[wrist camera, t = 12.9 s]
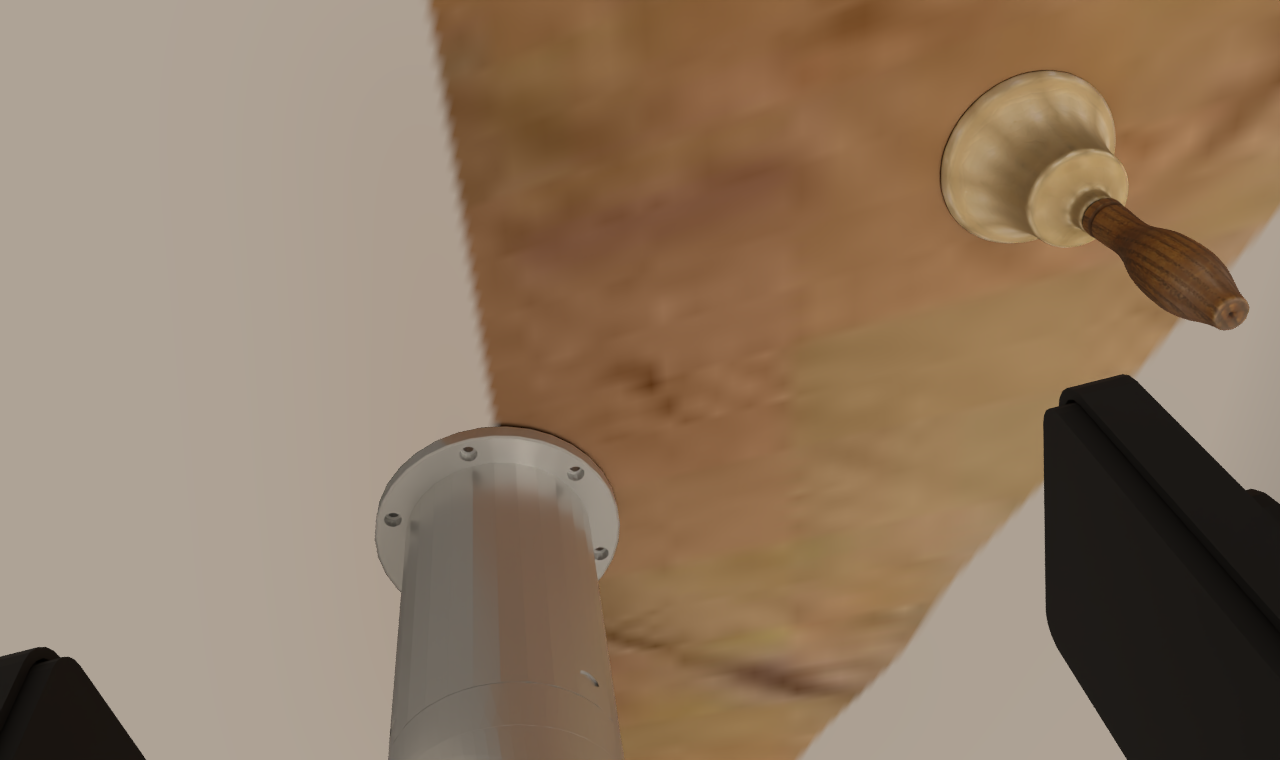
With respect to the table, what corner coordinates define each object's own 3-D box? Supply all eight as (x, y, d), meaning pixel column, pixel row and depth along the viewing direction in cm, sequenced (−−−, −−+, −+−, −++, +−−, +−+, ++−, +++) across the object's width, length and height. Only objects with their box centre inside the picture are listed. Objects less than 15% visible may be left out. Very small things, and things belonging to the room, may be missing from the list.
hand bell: (978, 53, 48) (1177, 188, 34) (1142, 88, 50) (1391, 228, 36) (914, 227, 52) (1069, 408, 39) (1068, 252, 54) (1267, 434, 40)
